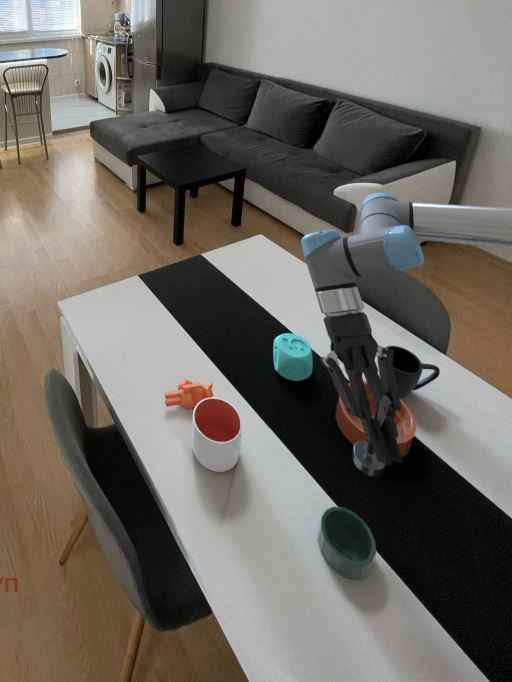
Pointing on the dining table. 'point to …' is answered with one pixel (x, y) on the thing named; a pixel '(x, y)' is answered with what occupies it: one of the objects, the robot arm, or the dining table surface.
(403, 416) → the bowl
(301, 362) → the decorative dice
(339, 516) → the faceted green pot
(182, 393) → the orange toy figurine
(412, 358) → the mug
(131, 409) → the dining table surface
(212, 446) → the cup
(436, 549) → the dining table surface
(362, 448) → the ladle
